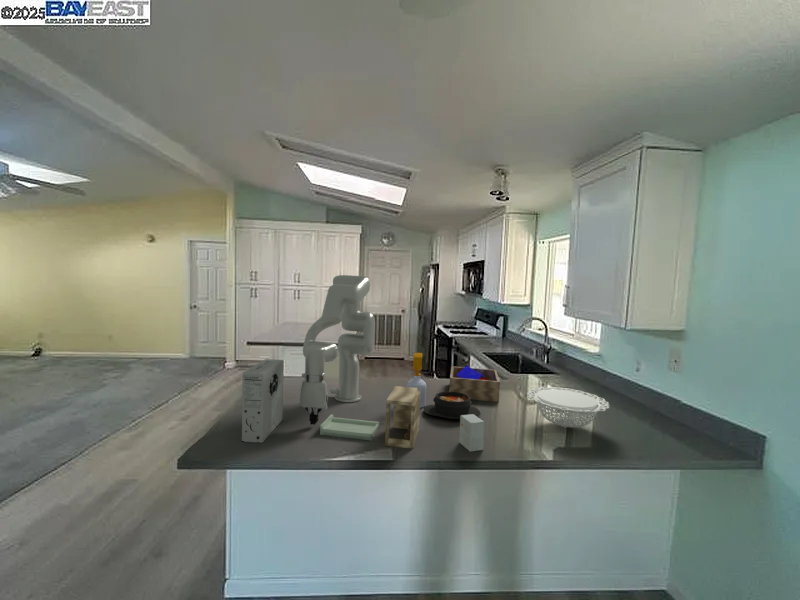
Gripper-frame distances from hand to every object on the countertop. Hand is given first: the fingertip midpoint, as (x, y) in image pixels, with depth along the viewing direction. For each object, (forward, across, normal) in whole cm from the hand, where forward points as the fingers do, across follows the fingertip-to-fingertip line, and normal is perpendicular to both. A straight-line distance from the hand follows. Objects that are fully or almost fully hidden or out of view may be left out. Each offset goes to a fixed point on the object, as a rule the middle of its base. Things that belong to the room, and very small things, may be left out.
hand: (313, 423), depth 154 cm
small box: (+2, +61, -1) cm, 61 cm away
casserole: (+2, +53, +29) cm, 60 cm away
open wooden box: (+2, +63, +65) cm, 90 cm away
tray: (+2, +15, 0) cm, 15 cm away
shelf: (+2, +35, 0) cm, 35 cm away
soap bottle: (+2, +36, +37) cm, 51 cm away
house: (+2, +63, +65) cm, 90 cm away
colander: (+2, +100, +27) cm, 103 cm away
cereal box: (+2, -17, -8) cm, 19 cm away
